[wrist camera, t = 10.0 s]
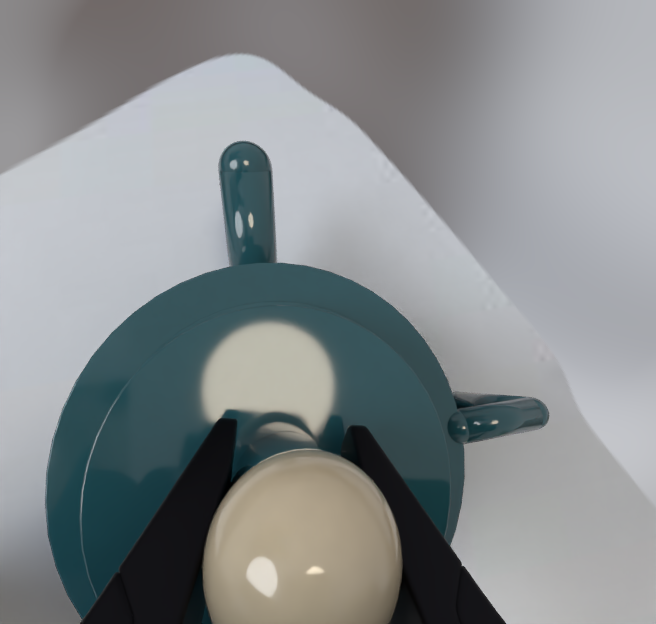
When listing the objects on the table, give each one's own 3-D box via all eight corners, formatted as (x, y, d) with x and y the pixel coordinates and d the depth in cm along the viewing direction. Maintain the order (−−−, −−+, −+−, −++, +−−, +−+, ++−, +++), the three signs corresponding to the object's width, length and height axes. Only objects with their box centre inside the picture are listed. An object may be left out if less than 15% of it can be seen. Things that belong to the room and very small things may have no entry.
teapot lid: (339, 750, 9) (478, 1331, 4) (-2, 566, 8) (-493, 934, 3) (491, 414, 11) (720, 449, 6) (232, 247, 11) (212, 105, 5)
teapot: (470, 523, 20) (608, 615, 12) (134, 605, 17) (32, 808, 9) (416, 206, 23) (502, 118, 15) (114, 218, 19) (21, 110, 11)
